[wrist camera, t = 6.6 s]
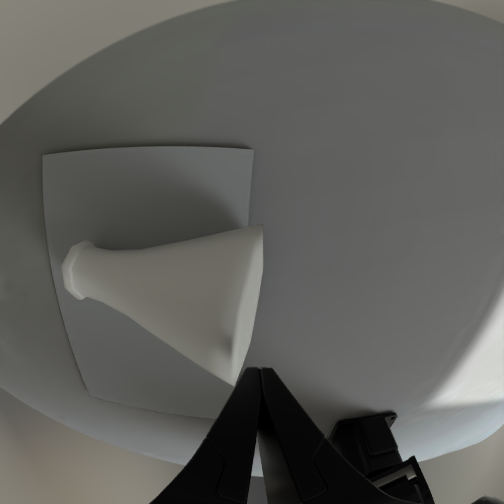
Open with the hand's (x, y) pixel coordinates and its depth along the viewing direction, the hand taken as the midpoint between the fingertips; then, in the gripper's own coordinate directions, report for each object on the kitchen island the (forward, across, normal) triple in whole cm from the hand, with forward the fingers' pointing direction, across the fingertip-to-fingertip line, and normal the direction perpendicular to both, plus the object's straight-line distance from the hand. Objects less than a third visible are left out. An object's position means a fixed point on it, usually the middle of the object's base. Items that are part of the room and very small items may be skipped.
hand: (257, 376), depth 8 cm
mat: (+8, +7, +3) cm, 11 cm away
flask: (+4, 0, 0) cm, 4 cm away
